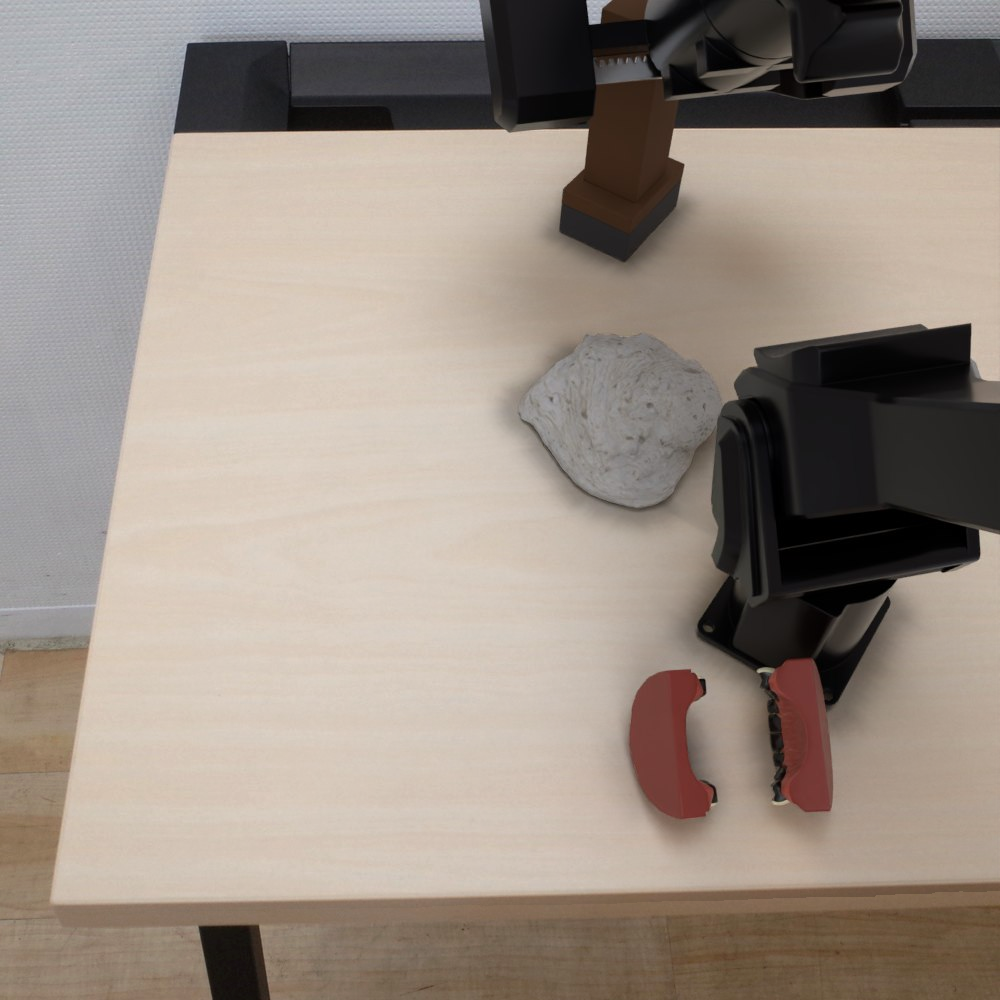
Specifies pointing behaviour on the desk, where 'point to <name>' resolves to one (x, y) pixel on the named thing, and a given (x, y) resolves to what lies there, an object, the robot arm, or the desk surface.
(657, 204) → the stamp
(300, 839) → the desk surface
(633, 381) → the stone
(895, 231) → the desk surface
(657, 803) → the false teeth
